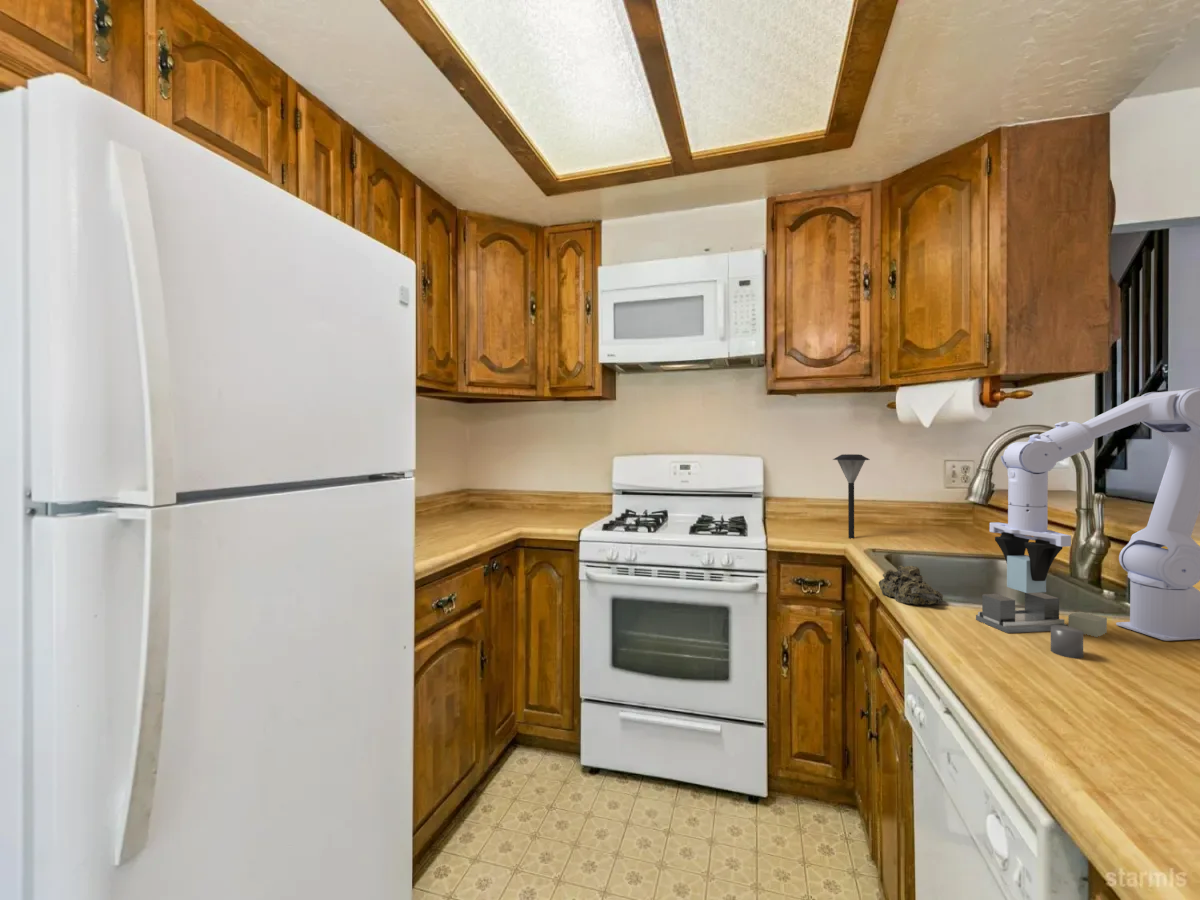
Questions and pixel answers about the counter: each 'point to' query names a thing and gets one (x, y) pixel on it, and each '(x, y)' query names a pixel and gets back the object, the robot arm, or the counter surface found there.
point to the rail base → (1020, 613)
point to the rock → (908, 587)
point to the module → (1022, 575)
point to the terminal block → (1088, 623)
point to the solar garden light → (851, 482)
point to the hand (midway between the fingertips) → (1026, 577)
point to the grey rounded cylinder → (1067, 641)
